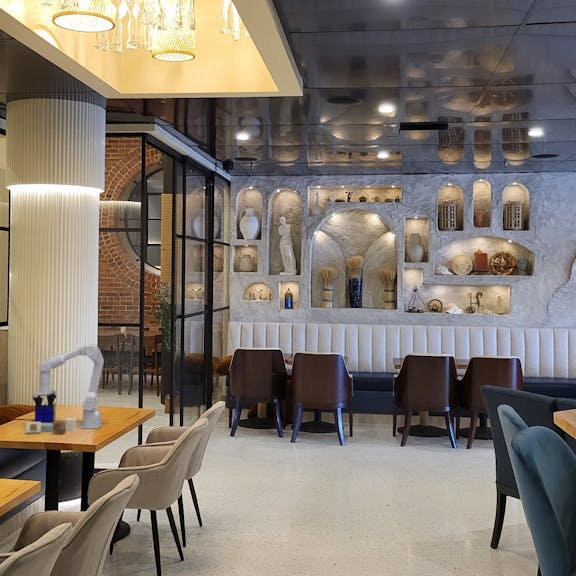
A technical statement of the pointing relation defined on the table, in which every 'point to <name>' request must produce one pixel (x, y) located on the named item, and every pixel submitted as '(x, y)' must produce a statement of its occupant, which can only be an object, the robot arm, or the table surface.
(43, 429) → the base block
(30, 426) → the cream-edged tan board
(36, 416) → the puzzle cube
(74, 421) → the off-white block
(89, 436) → the table surface
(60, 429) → the walnut block
